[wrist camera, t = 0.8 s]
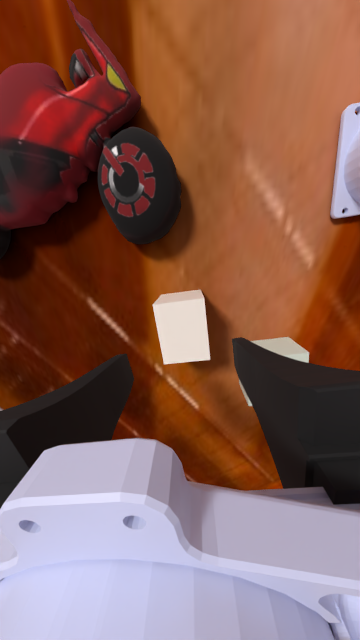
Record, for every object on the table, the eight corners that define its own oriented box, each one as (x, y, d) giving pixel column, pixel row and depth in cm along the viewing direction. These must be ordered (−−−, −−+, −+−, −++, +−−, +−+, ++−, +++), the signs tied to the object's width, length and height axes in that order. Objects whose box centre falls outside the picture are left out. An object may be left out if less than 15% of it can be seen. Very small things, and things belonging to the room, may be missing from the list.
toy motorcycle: (186, 237, 19) (162, -18, 12) (184, 239, 15) (144, -170, 7) (-12, 263, 22) (-130, 67, 15) (-65, 272, 17) (-276, -6, 10)
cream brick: (200, 289, 20) (204, 298, 15) (205, 338, 21) (210, 359, 17) (161, 294, 20) (152, 304, 15) (169, 342, 22) (164, 364, 17)
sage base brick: (287, 336, 21) (309, 352, 17) (285, 378, 23) (305, 401, 19) (236, 342, 21) (246, 359, 18) (238, 382, 23) (248, 406, 20)
